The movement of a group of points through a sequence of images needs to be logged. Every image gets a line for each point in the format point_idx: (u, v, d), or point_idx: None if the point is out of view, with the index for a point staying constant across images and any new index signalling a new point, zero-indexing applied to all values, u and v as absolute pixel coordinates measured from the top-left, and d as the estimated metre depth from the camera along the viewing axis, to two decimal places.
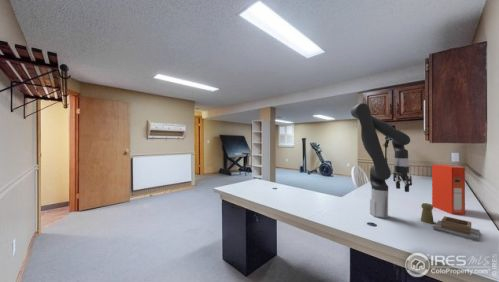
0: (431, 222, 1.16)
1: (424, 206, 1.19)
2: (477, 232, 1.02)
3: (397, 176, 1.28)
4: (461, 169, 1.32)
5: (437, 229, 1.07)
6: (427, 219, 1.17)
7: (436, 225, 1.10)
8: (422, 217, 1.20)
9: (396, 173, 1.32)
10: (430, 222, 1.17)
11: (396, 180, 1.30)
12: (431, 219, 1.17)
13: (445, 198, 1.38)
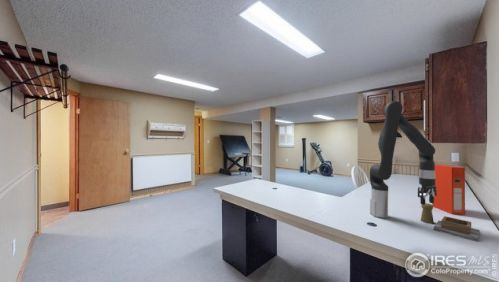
0: (431, 222, 1.16)
1: (424, 206, 1.19)
2: (477, 232, 1.02)
3: (429, 190, 1.18)
4: (461, 169, 1.32)
5: (437, 229, 1.07)
6: (427, 219, 1.17)
7: (436, 225, 1.10)
8: (422, 217, 1.20)
9: (423, 188, 1.18)
10: (430, 222, 1.17)
11: (427, 195, 1.17)
12: (431, 219, 1.17)
13: (445, 198, 1.38)
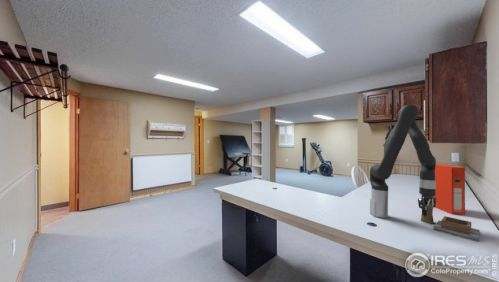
0: (431, 222, 1.16)
1: None
2: (477, 232, 1.02)
3: (429, 200, 1.17)
4: (461, 169, 1.32)
5: (437, 229, 1.07)
6: (427, 219, 1.17)
7: (436, 225, 1.10)
8: (422, 217, 1.20)
9: (423, 198, 1.17)
10: (430, 222, 1.17)
11: None
12: (431, 219, 1.17)
13: (445, 198, 1.38)
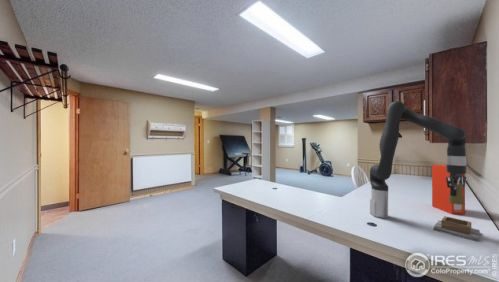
0: (461, 203, 1.04)
1: None
2: (477, 232, 1.02)
3: (459, 178, 1.05)
4: None
5: (437, 229, 1.07)
6: (457, 200, 1.05)
7: (436, 225, 1.10)
8: (450, 198, 1.07)
9: (452, 177, 1.05)
10: (460, 203, 1.04)
11: None
12: (461, 199, 1.05)
13: (445, 198, 1.38)
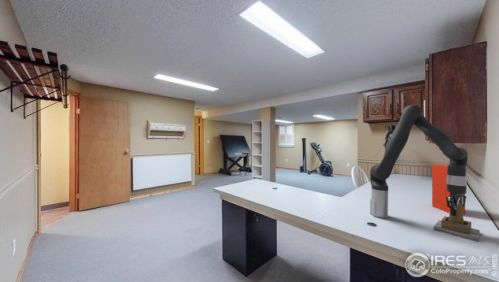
0: (461, 223, 1.04)
1: None
2: (477, 232, 1.02)
3: (459, 198, 1.05)
4: None
5: (437, 229, 1.07)
6: (457, 220, 1.05)
7: (436, 225, 1.10)
8: (450, 217, 1.07)
9: (452, 196, 1.05)
10: (460, 223, 1.04)
11: None
12: (461, 219, 1.04)
13: (445, 198, 1.38)
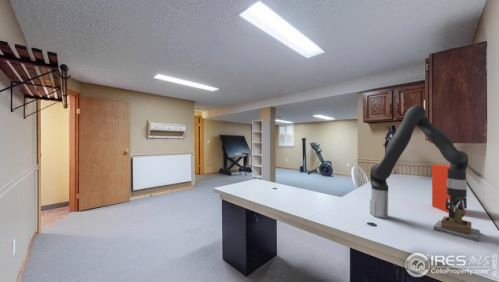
0: None
1: None
2: (477, 232, 1.02)
3: (459, 202, 1.05)
4: None
5: (437, 229, 1.07)
6: None
7: (436, 225, 1.10)
8: None
9: (452, 199, 1.05)
10: None
11: None
12: None
13: (445, 198, 1.38)
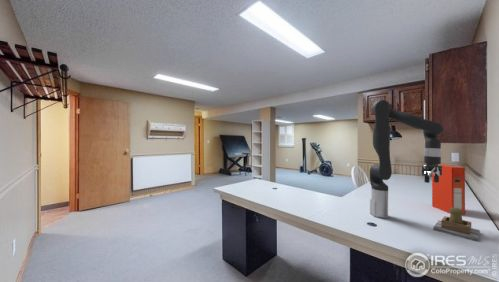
0: None
1: (453, 211, 1.06)
2: (477, 232, 1.02)
3: (434, 168, 1.17)
4: (461, 169, 1.32)
5: (437, 229, 1.07)
6: None
7: (436, 225, 1.10)
8: None
9: (427, 165, 1.18)
10: None
11: (431, 173, 1.17)
12: None
13: (445, 198, 1.38)
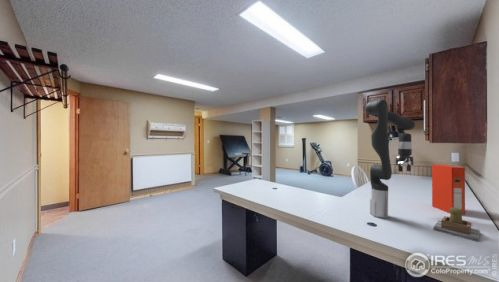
0: None
1: (453, 211, 1.06)
2: (477, 232, 1.02)
3: (406, 159, 1.36)
4: (461, 169, 1.32)
5: (437, 229, 1.07)
6: None
7: (436, 225, 1.10)
8: None
9: (400, 157, 1.36)
10: None
11: None
12: None
13: (445, 198, 1.38)
